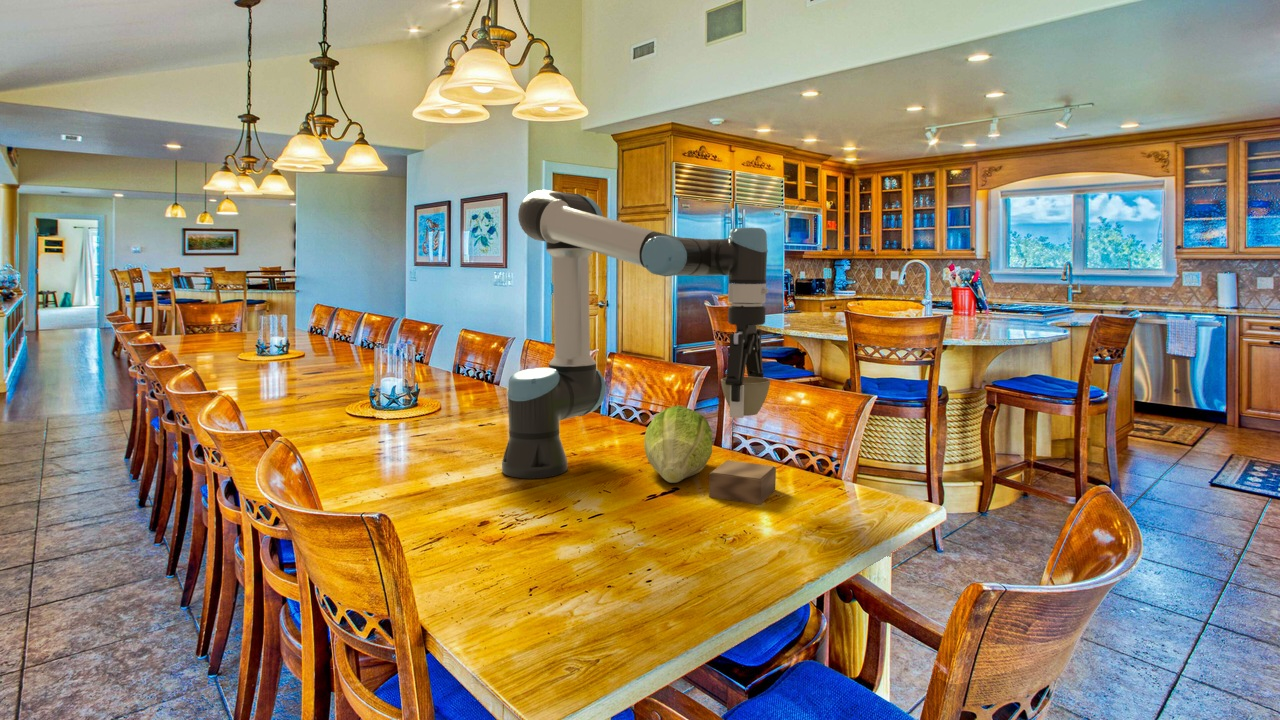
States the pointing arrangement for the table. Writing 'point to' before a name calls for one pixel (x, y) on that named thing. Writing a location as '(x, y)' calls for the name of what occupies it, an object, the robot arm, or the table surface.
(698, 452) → the lettuce
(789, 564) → the table surface
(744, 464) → the walnut block
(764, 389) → the flower pot
